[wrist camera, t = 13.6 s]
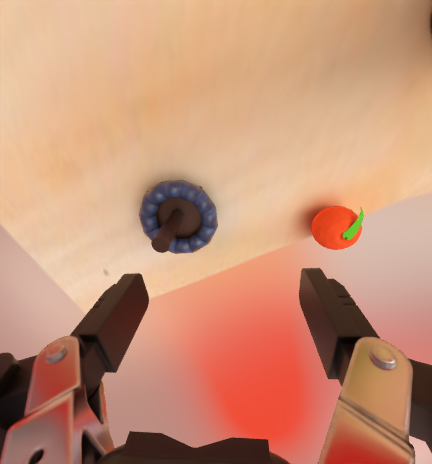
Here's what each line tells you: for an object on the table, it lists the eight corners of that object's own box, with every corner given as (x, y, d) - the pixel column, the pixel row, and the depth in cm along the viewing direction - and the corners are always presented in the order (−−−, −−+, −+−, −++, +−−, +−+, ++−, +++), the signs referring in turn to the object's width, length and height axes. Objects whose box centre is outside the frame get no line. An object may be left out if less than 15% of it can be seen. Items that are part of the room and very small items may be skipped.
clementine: (329, 187, 34) (352, 200, 27) (361, 207, 35) (390, 225, 29) (297, 225, 37) (311, 246, 31) (327, 243, 38) (347, 266, 32)
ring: (213, 175, 32) (212, 179, 30) (220, 246, 38) (219, 254, 36) (134, 182, 34) (128, 186, 31) (153, 250, 39) (148, 257, 37)
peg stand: (201, 186, 35) (190, 210, 25) (206, 234, 39) (198, 272, 28) (149, 189, 36) (117, 214, 25) (159, 235, 39) (135, 273, 29)
